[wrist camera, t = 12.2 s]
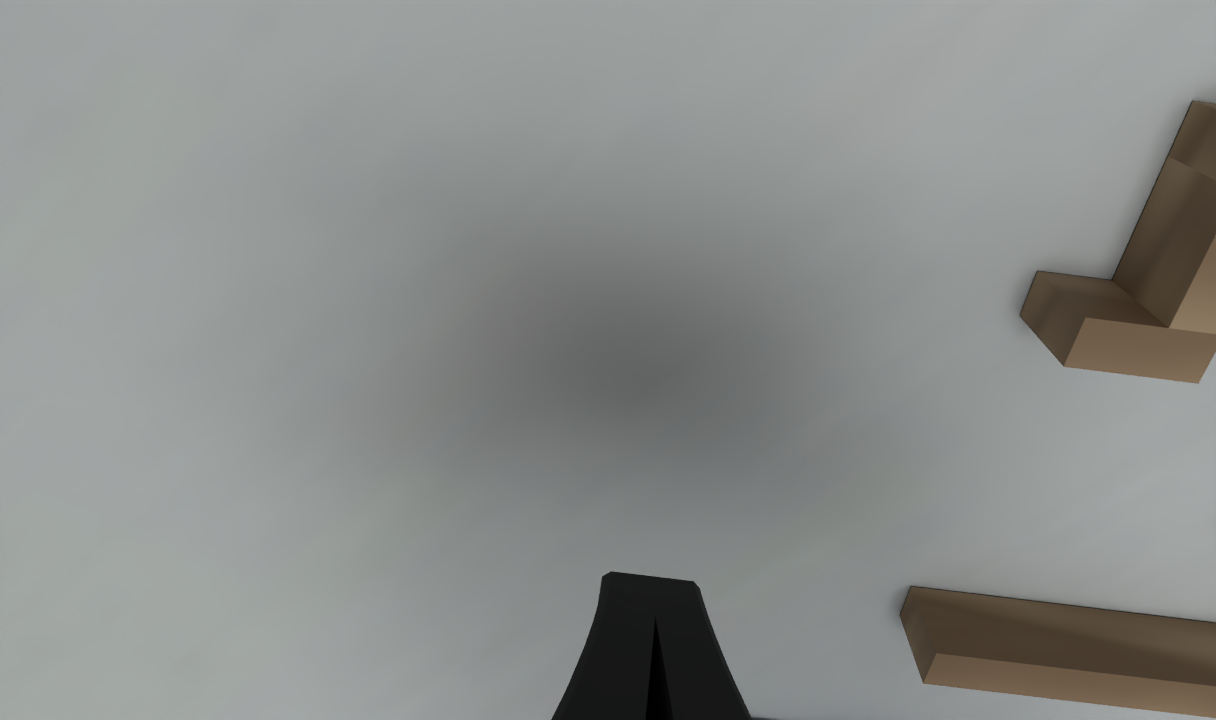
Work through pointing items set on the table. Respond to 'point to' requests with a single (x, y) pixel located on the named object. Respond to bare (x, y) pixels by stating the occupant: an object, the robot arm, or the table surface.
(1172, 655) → the channel
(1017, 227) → the table surface
